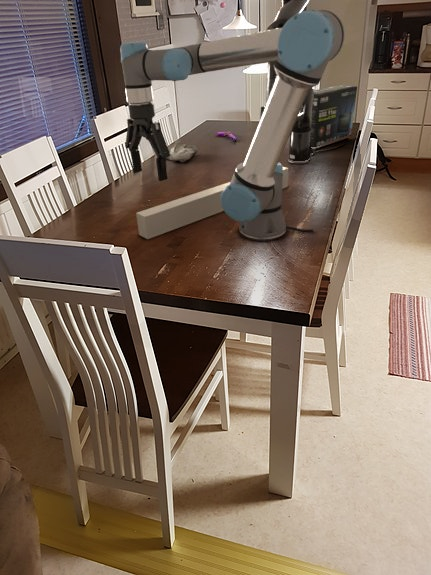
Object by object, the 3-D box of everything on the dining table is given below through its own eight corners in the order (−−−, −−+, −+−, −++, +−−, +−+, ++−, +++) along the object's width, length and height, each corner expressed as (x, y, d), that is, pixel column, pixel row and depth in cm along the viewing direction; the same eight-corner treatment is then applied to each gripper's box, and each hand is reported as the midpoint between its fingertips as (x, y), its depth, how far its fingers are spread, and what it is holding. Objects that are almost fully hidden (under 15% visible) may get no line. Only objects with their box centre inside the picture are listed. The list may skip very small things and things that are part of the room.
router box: (314, 151, 231) (318, 94, 217) (296, 148, 237) (299, 92, 224) (352, 138, 251) (358, 85, 238) (335, 135, 258) (340, 83, 245)
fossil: (184, 156, 217) (163, 136, 220) (174, 174, 223) (154, 154, 227) (205, 153, 231) (186, 134, 234) (195, 171, 237) (176, 152, 240)
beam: (147, 239, 148) (144, 216, 144) (139, 234, 151) (136, 212, 147) (287, 186, 187) (288, 168, 183) (278, 184, 190) (279, 165, 186)
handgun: (216, 135, 269) (216, 131, 268) (229, 133, 270) (229, 130, 269) (224, 143, 252) (224, 139, 251) (237, 141, 253) (237, 138, 252)
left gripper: (177, 104, 125) (184, 180, 136) (128, 97, 142) (137, 166, 153) (155, 109, 121) (164, 186, 132) (107, 101, 138) (118, 171, 148)
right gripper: (299, 91, 163) (296, 137, 172) (269, 87, 173) (268, 132, 181) (285, 94, 159) (283, 141, 168) (255, 90, 169) (255, 135, 177)
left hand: (150, 175), depth 142 cm, fingers open, 13 cm apart
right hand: (275, 136), depth 175 cm, fingers open, 8 cm apart
